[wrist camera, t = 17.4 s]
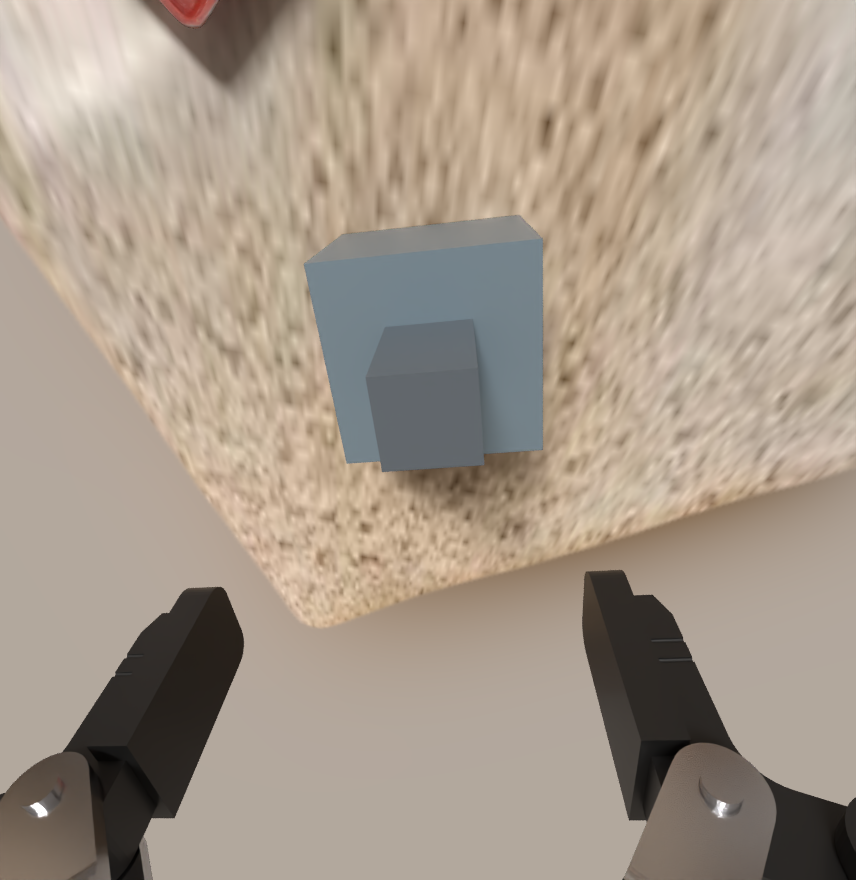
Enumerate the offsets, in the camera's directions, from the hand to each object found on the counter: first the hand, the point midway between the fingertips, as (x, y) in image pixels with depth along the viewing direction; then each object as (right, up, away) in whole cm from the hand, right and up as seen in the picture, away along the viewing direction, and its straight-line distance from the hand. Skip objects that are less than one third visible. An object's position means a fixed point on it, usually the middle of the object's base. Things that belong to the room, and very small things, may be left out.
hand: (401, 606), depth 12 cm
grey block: (+1, +12, +21) cm, 24 cm away
